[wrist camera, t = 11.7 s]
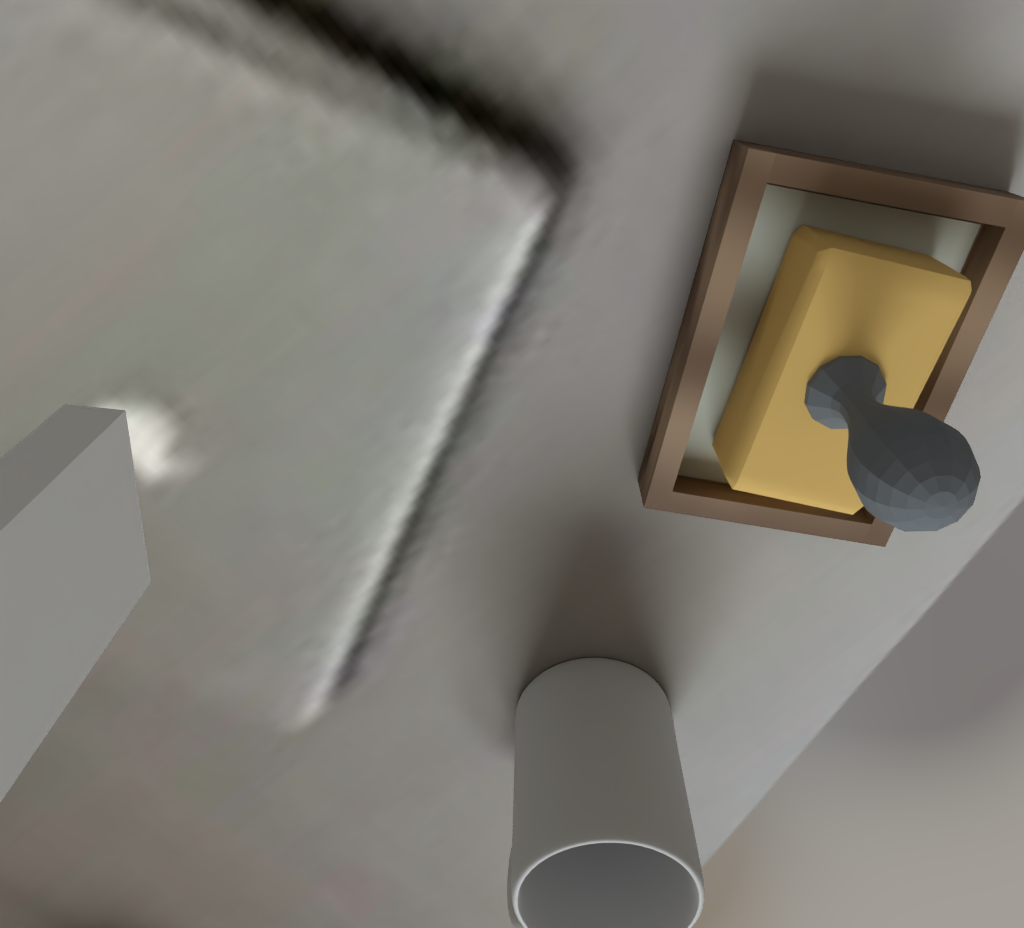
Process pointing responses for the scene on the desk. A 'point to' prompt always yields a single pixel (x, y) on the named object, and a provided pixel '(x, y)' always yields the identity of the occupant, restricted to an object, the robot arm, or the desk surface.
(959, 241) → the tray
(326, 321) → the desk surface
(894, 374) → the rubber stamp
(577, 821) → the mug
